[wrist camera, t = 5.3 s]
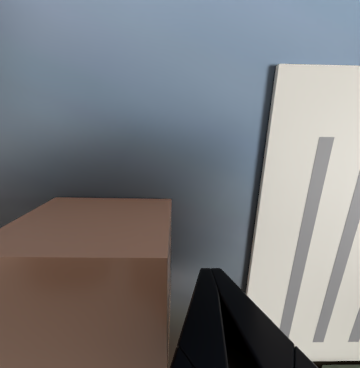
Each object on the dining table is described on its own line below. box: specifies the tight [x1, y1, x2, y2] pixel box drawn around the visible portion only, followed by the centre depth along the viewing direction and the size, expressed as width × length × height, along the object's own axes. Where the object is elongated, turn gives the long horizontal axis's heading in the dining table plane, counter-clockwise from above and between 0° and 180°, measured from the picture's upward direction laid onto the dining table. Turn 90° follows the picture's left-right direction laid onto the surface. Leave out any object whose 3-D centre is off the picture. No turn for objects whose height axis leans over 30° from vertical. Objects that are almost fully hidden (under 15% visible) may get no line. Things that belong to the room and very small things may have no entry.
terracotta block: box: [0, 197, 172, 368], centre depth 7 cm, size 5×5×4 cm
